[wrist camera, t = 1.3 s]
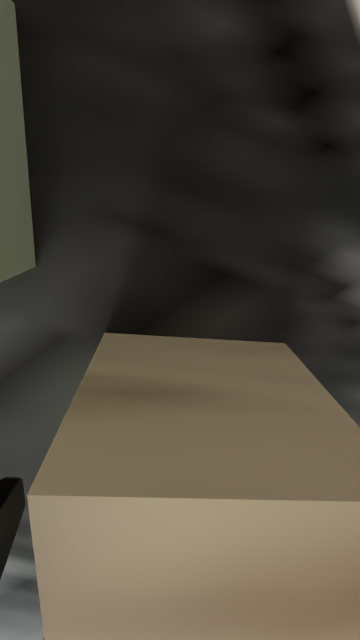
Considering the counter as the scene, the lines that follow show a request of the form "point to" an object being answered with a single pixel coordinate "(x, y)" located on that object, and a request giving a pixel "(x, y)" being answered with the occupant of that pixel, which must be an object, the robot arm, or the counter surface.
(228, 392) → the beech block
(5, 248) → the sage block
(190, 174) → the counter surface
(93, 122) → the counter surface
